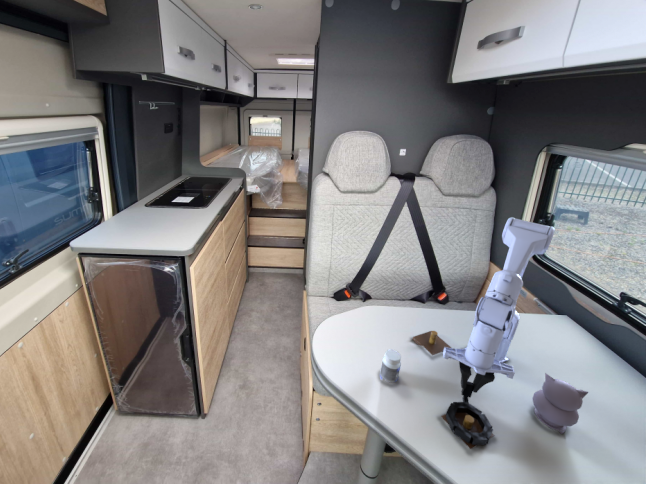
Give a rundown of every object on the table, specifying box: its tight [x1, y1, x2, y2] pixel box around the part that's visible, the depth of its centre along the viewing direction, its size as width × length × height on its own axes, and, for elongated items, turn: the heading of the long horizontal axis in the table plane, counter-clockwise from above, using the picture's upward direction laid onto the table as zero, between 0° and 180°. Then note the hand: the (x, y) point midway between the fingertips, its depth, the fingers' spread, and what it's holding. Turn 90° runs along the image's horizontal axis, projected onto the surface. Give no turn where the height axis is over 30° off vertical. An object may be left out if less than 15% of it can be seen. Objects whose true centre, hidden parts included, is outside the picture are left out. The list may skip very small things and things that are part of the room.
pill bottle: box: [379, 348, 402, 383], centre depth 83 cm, size 5×5×8 cm
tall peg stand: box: [411, 330, 452, 356], centre depth 96 cm, size 8×8×5 cm
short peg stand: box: [440, 412, 496, 450], centre depth 71 cm, size 8×8×4 cm
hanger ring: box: [445, 380, 494, 446], centre depth 72 cm, size 12×9×6 cm
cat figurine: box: [532, 372, 589, 435], centre depth 73 cm, size 8×8×12 cm
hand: (468, 387), depth 76 cm, fingers closed on hanger ring
